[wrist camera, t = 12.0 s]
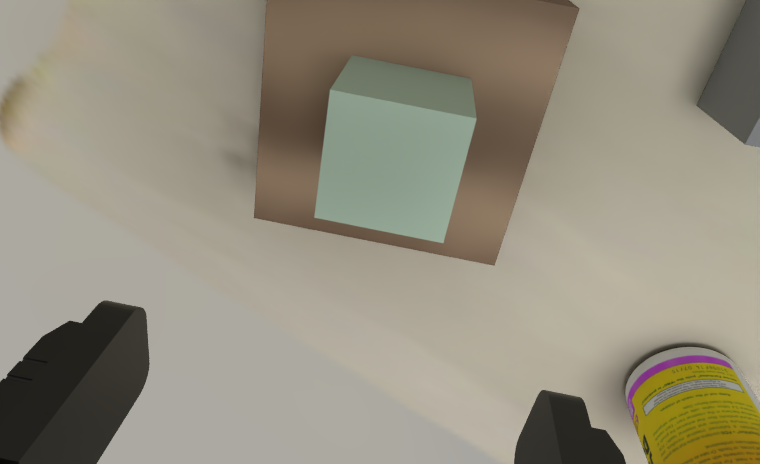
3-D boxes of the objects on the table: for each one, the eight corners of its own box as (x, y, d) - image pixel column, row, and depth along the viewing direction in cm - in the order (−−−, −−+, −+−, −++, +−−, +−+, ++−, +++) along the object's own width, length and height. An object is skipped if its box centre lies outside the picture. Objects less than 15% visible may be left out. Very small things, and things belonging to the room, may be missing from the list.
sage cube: (352, 55, 23) (330, 89, 19) (471, 78, 23) (476, 118, 19) (336, 165, 26) (314, 217, 21) (443, 186, 26) (443, 243, 21)
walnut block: (294, -58, 25) (269, -53, 21) (561, -6, 25) (579, 8, 21) (275, 183, 31) (253, 217, 28) (489, 225, 31) (494, 265, 27)
